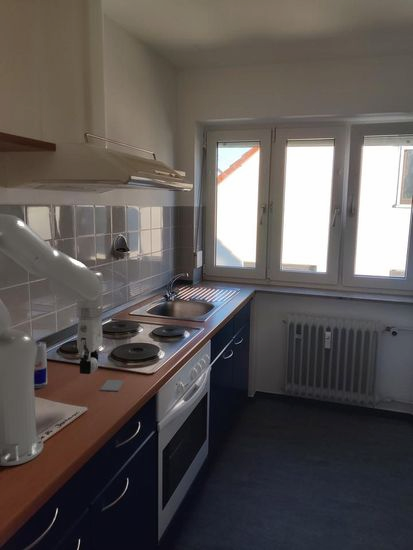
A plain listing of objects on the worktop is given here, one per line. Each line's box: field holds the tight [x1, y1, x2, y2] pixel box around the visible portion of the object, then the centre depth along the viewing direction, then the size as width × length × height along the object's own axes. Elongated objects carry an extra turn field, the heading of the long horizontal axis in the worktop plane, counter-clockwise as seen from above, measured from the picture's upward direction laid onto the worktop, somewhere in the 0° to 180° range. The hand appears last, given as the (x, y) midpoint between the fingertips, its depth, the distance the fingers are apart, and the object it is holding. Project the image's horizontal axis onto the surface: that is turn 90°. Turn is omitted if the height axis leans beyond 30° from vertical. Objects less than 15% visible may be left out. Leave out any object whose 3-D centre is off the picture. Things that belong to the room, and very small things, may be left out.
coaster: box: [100, 379, 125, 392], centre depth 147 cm, size 8×6×1 cm
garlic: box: [90, 357, 99, 374], centre depth 131 cm, size 6×5×5 cm
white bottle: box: [34, 341, 48, 389], centre depth 145 cm, size 5×5×15 cm
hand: (89, 369), depth 131 cm, fingers closed on garlic, 6 cm apart
